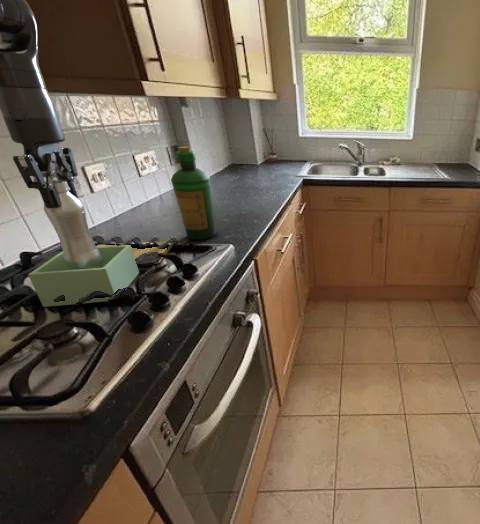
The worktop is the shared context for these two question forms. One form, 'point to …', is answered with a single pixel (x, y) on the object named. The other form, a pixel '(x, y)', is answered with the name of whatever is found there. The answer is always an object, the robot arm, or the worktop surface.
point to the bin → (85, 277)
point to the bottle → (194, 196)
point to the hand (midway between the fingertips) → (63, 203)
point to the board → (147, 249)
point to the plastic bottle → (73, 230)
